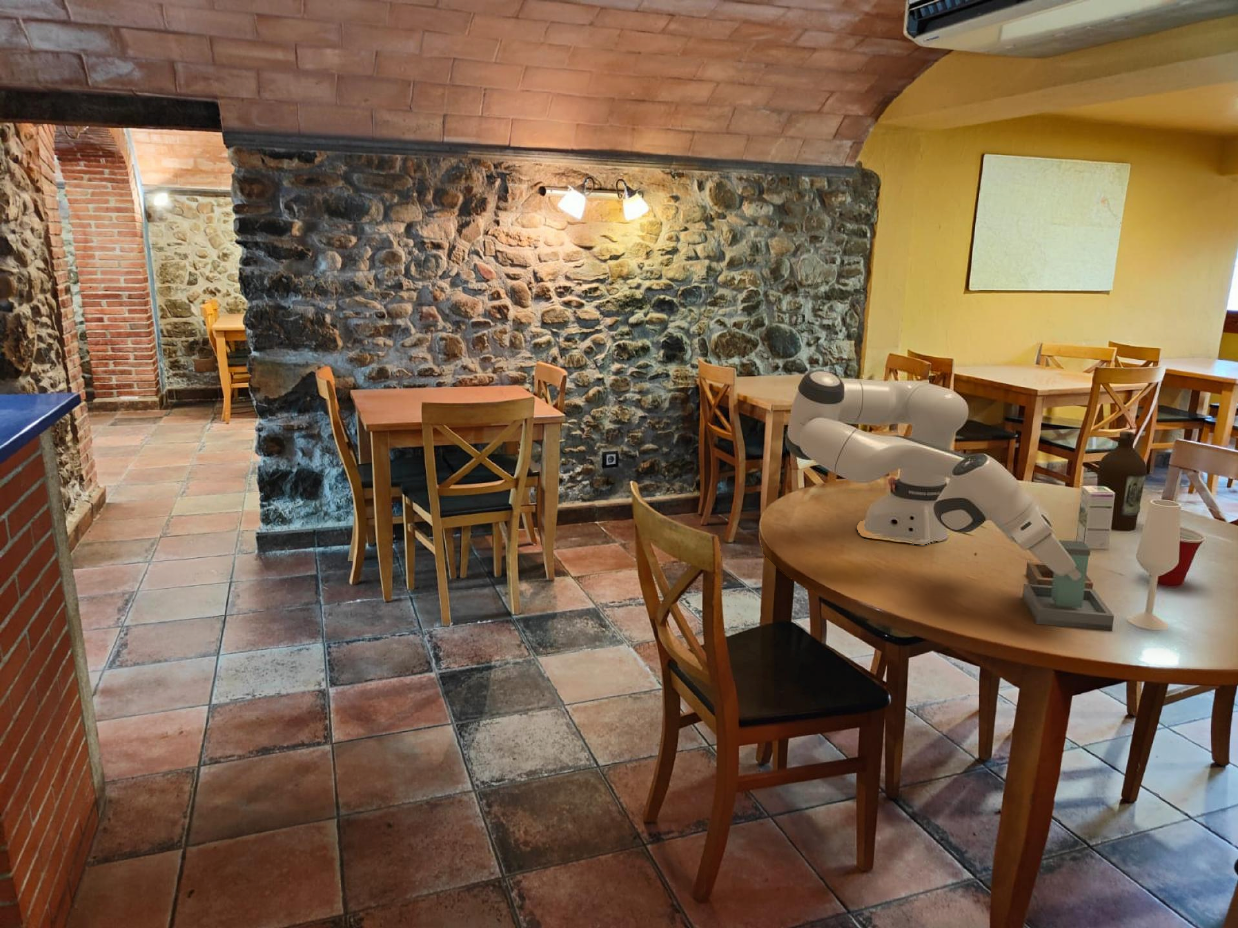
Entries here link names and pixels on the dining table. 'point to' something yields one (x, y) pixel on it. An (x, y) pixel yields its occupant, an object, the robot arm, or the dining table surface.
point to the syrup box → (1095, 516)
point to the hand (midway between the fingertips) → (1073, 571)
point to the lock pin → (1065, 586)
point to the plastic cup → (1183, 557)
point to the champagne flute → (1158, 554)
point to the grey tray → (1067, 609)
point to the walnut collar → (1045, 575)
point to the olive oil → (1123, 481)
